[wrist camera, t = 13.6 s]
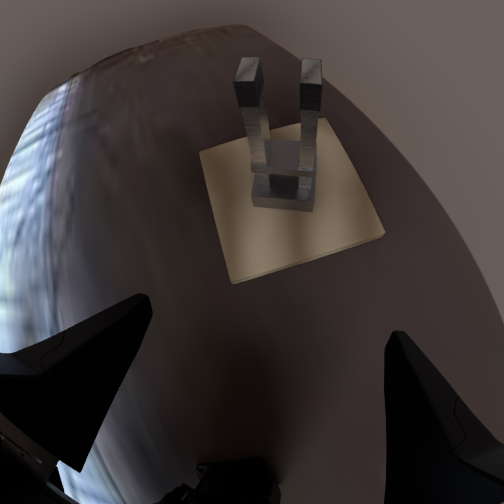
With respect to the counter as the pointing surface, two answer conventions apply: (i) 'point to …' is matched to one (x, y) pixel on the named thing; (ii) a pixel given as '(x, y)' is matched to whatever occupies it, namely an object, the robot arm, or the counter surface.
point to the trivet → (286, 221)
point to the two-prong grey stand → (280, 151)
